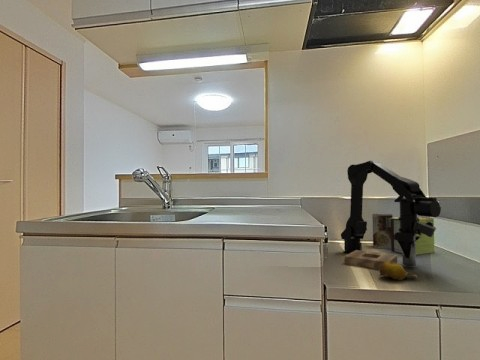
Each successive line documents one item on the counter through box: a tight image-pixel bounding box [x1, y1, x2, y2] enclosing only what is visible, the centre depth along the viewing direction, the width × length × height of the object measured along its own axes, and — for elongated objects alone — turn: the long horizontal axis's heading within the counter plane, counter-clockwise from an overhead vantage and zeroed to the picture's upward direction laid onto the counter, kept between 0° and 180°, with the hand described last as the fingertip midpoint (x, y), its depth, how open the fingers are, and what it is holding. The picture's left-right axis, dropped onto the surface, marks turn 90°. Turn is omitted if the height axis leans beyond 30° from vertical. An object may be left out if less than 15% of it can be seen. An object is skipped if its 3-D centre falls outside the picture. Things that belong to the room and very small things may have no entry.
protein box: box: [390, 215, 435, 256], centre depth 141 cm, size 10×15×16 cm
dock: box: [343, 250, 398, 270], centre depth 121 cm, size 16×14×3 cm
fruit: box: [379, 262, 418, 281], centre depth 102 cm, size 11×11×5 cm
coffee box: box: [371, 213, 394, 250], centre depth 150 cm, size 9×6×16 cm
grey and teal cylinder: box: [401, 238, 417, 268], centre depth 115 cm, size 4×4×10 cm
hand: (409, 256), depth 115 cm, fingers closed on grey and teal cylinder, 4 cm apart
